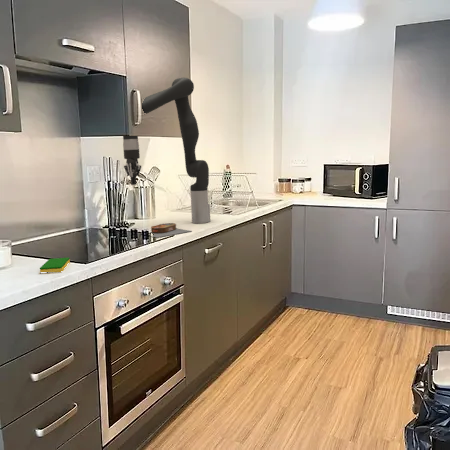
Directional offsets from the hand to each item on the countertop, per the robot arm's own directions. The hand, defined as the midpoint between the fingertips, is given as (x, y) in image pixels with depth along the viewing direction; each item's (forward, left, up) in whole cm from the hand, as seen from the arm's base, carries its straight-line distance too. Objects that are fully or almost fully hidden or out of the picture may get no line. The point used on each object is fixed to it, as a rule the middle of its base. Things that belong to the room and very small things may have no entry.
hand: (133, 184), depth 230 cm
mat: (-5, +18, -23) cm, 30 cm away
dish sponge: (+59, +43, -24) cm, 77 cm away
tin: (-5, +10, -22) cm, 24 cm away
